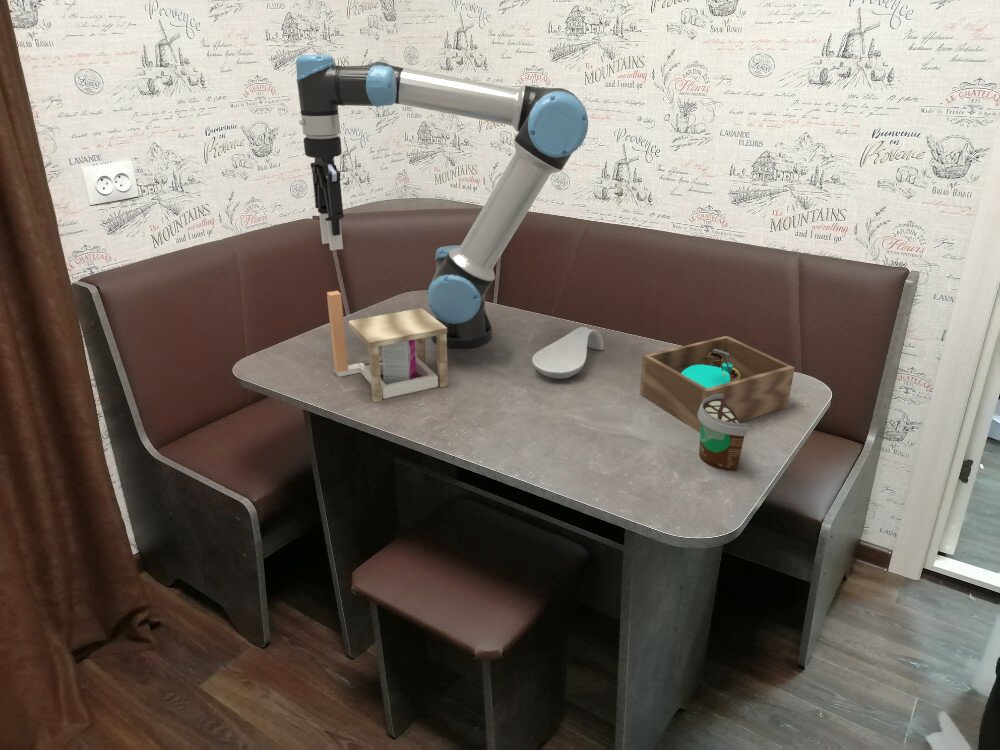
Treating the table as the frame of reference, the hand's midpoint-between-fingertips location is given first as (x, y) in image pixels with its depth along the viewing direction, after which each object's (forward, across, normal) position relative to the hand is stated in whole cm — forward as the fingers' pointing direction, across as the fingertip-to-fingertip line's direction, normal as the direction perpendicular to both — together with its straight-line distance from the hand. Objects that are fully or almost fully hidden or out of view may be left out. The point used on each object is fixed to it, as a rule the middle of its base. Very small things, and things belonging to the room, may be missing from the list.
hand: (332, 245), depth 164 cm
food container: (+27, +75, +45) cm, 92 cm away
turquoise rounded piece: (+27, +59, +60) cm, 89 cm away
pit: (+27, +9, +5) cm, 29 cm away
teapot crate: (+27, +58, +61) cm, 88 cm away
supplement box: (+27, +19, +7) cm, 34 cm away
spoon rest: (+27, +28, +45) cm, 60 cm away
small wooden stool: (+27, +19, +7) cm, 34 cm away
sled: (+27, +17, +4) cm, 32 cm away
